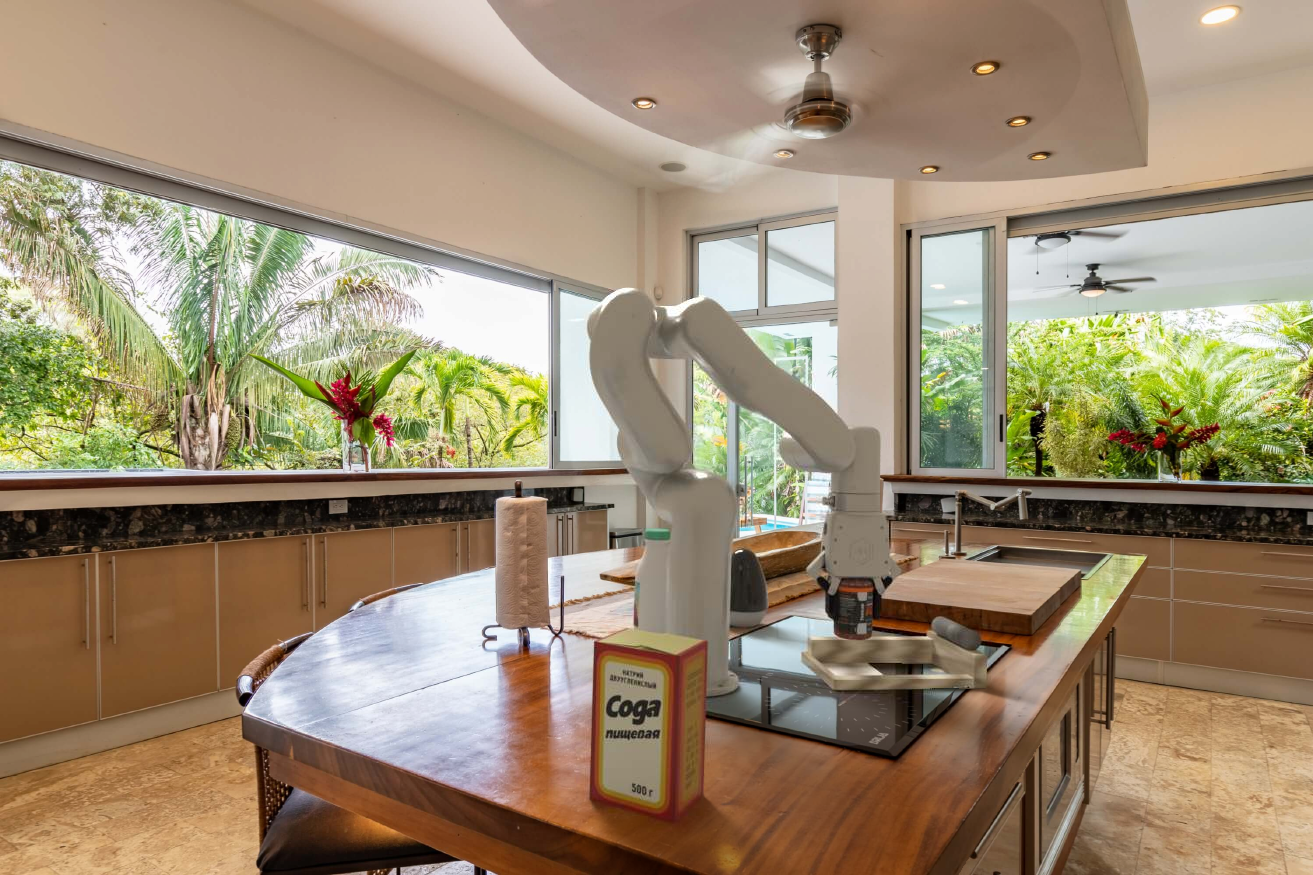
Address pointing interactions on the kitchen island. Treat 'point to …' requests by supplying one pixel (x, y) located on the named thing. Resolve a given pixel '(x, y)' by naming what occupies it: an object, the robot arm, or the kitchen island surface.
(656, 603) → the milk bottle
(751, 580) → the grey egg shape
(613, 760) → the baking soda box
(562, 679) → the kitchen island surface
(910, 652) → the bay
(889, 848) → the kitchen island surface
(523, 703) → the kitchen island surface
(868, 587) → the supplement bottle
